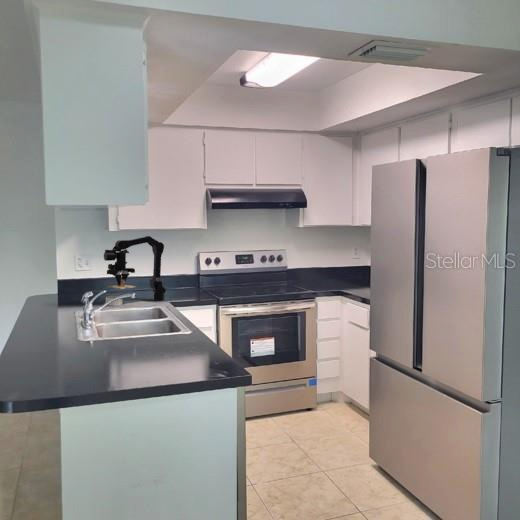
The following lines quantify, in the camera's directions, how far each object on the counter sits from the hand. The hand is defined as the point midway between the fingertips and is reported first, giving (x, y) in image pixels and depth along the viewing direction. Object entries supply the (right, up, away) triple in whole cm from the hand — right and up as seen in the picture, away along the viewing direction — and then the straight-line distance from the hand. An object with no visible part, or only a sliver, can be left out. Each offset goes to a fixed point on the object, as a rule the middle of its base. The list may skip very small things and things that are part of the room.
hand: (121, 284), depth 327 cm
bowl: (-5, -13, +1) cm, 14 cm away
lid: (0, -2, 0) cm, 2 cm away
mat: (+12, -13, +2) cm, 18 cm away
